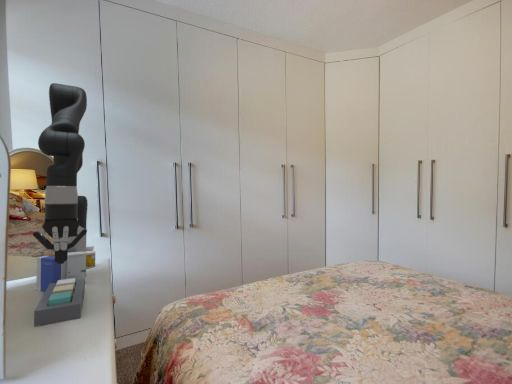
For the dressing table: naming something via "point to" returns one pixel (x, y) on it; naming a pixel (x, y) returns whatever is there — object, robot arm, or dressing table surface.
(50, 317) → the grey board with slots
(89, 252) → the supplement bottle
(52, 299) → the teal key
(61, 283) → the grey key
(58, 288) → the sand key
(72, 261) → the skincare box
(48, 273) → the walkman
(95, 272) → the dressing table surface
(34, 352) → the dressing table surface
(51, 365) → the dressing table surface
